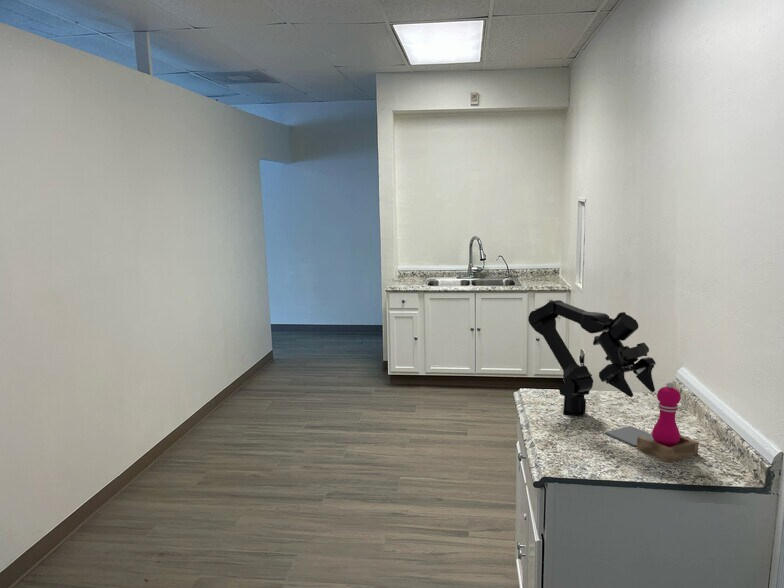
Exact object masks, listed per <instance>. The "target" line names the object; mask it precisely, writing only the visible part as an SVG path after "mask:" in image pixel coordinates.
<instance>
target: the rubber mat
mask: <svg viewBox="0 0 784 588" xmlns="http://www.w3.org/2000/svg"><path fill="white" fill-rule="evenodd" d="M604 435H606V436H608V437H611V438H613V439H616V440H618V441H620V442H622V443H624V444H626V445H629V446H631V447H633V448H637V439H638V437H640V436H642V437H645V438H647V439H650V440H652V441H655V440H654V439H653V437H652V433H649V432H647V431H644V430H641V429H639V428H637V427H635V426H632V425H629V426H623V427H619V428H617V429H613V430H609V431H606V432H604Z"/></svg>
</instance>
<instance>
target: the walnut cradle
mask: <svg viewBox="0 0 784 588" xmlns="http://www.w3.org/2000/svg"><path fill="white" fill-rule="evenodd" d="M699 445H700V442H699V441H698V440H695V439H692V438H689V437H687V436H684V435H681V434H680V440H679V442H678V443H677V444H676V446H672V447H667V446H664V445H662V444H659V443H657V442H654V441H652V440H650V439H647V438H645V437H642V436H640V437H638V439H637V447H636V449H637V450H638V451H641V452H644V453H646V454H647V455H650V456H653V457H655V458H656V459H660V460H661V461H664V462H667V463H669V464H670V463H673V462H678V461H680V460H684V459H686V457H687V458H690V457H693V456H697V455H698V453H699ZM689 456H690V457H689Z"/></svg>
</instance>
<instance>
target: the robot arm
mask: <svg viewBox="0 0 784 588" xmlns="http://www.w3.org/2000/svg"><path fill="white" fill-rule="evenodd" d="M528 315H529V316H528V318H527V319H528V323H529V325H530V326H531V328H532V329H533V330H534V331H535V332H536V333H538V334H539V335H541V336H542V337H543V339H544V340H545V342H546V344H547V345H548V347H549V349H550V350H551V352H552V353H553V356H554V357H555V359H556V361H557V362H558V365H560V368H561V369H562V371H563V374H562V375H563V376H562V378H563V379H562V380H563V382H564V383H563V384H562V385H561V386H559V387H558V391H559V395H561V396H563V411H562V414H563V415H567V416H578V417H584V416H585V413H586V408H587V399H586V397H585V395H589V394H590V392H591V390H592V388H593V384H594V379H593V374H592V373H591V372H590V371H589V369H588V366H586V365H579V364H578V363H577V362H576V359H575V358H574V357H573V355H572V354H571V353H572V352H571V351H570V350H569V348H568V347H567V344H566V343H565V342H564V340H563V339H562V337H561V335H560V334H559V332H558V330H557V320H556V319H557V318H558V317H562V318H565V319H567V320H569V321H572V322H574V323H577V324H578V325H580V327H581V329H582V330H584V331H586V332H587V333H589V334H598V333H600V334H599V335H596V336H594V337H593V338H594V339H593V342H592V346H598V345H600V346H601V349H602V350H603V351H604V353H605V355H606V356H605V357H604V358H605V360H606V361H607V362H608V361H610V363H609V364H606V366H604V367H603V368H602V369H601V370H600V371H599V373H598V378H599V380H600V381H601V382H602V383H604V382H605V383H606V384H607V385H608V384H609V385H610V386H612V387H614V388H616V389H617V390H619V391H621V392H622V393H623V394H624V395H626V396H628V397H629V398H632V397H634V392H633V391H632V389H631V387H630V386H629V383H628V381H627V380H626V379H625V373H628V372H629V373H630V372H633V374H634V375H635V378H637V379H638V381H640V382H641V383H642V384H643V385H644V387H646V389H648V390H649V391H650V392H651V393H654V392H655V391H656V389H655V383H654V380H653V375H652V372H653V369H654V367H655V365H656V364H657V363H656V361H655V360H654V357H650V356H648V353H649V352H650V348H649V347H648V345H647V344H646V343H645V342H640V343H637V344H636V346H632V347H630V346H629V345H624V344H623V343H622V342H624V341H626V340H627V339H628V338H629V337H631V336H632V335H633V334H634V333H635V332H637V330H638V329H639V322H638V321H637V319H635V318H633V317H632V316H631V315H629V314H627V313H626V312H625V311H621V312H619V313H618V314H617V315H616V317H615V318H611V317H610V315H608V314H607V313H603V312H595V311H594V312H593V311H588V310H584V309H581V308H579V307H576V306H574V305H571V304H569V303H567V302H564V301H562V300H561V299H560V300H559V299H558V300H557V299H556V300H550V301H548V302H547V303H546V304H544V305H542V306H540V307H539V308H537V309H535V310H532V311H530V313H529V314H528ZM642 357H643V358H642ZM639 358H640V359H639Z"/></svg>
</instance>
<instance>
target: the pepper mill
mask: <svg viewBox="0 0 784 588" xmlns="http://www.w3.org/2000/svg"><path fill="white" fill-rule="evenodd" d="M665 385H666V386H663V387H661V388H659V389H658V391H657V393H656V398H657V400H658V401H659V402H658V404H657V405H658V406H657V408H658V410H659V417H658V419H657V421H656V422H655V425H654V427H653V429H652V432H651V434H652V437H653V439H654V440H655V441H654V442H657V443H659V444H662V445H664V446H667V447H672V446H676V444H677V443H678V442H679V440H680V435H681V433H680V430H679V427H678V426H677V422H676V412H678V409H679V405H678V404H679V403H680V401H681V399H682V396H681V393H680V391H679V390H678V389H677V388H675V387H674V384H673V382H671V381H668V382H666V384H665Z"/></svg>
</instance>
